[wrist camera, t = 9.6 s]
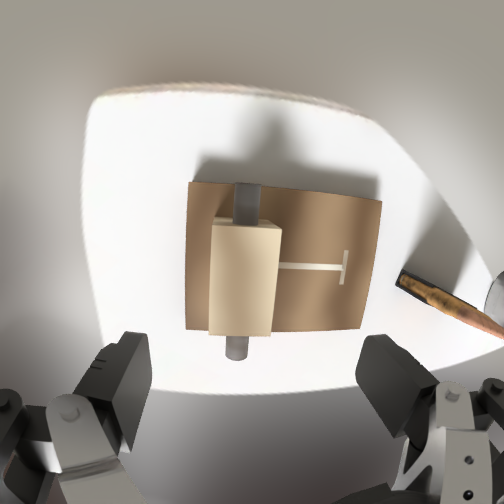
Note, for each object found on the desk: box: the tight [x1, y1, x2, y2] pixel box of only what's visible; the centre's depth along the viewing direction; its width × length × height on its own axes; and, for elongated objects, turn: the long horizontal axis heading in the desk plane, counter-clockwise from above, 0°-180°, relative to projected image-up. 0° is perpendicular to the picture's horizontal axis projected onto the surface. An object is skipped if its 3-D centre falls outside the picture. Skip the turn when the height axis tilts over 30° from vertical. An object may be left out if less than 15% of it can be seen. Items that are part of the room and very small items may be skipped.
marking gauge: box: [209, 183, 282, 361], centre depth 19 cm, size 4×12×5 cm, turn 175°
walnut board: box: [185, 182, 382, 332], centre depth 23 cm, size 16×12×2 cm
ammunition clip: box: [395, 269, 504, 339], centre depth 21 cm, size 11×2×12 cm, turn 68°
